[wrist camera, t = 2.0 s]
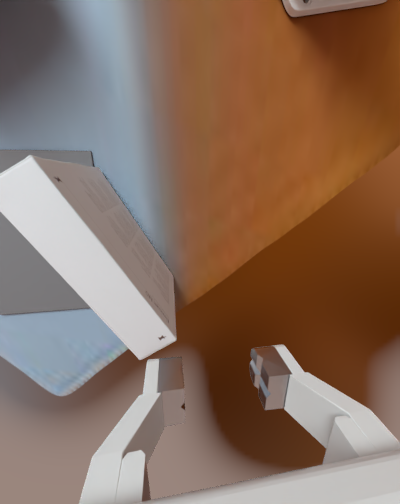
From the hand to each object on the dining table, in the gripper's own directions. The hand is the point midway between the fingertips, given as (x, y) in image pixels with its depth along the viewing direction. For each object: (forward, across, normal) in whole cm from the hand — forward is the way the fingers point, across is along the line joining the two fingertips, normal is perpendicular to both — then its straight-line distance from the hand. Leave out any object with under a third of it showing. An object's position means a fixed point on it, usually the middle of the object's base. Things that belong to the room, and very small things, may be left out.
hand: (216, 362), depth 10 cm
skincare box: (+27, +9, 0) cm, 29 cm away
